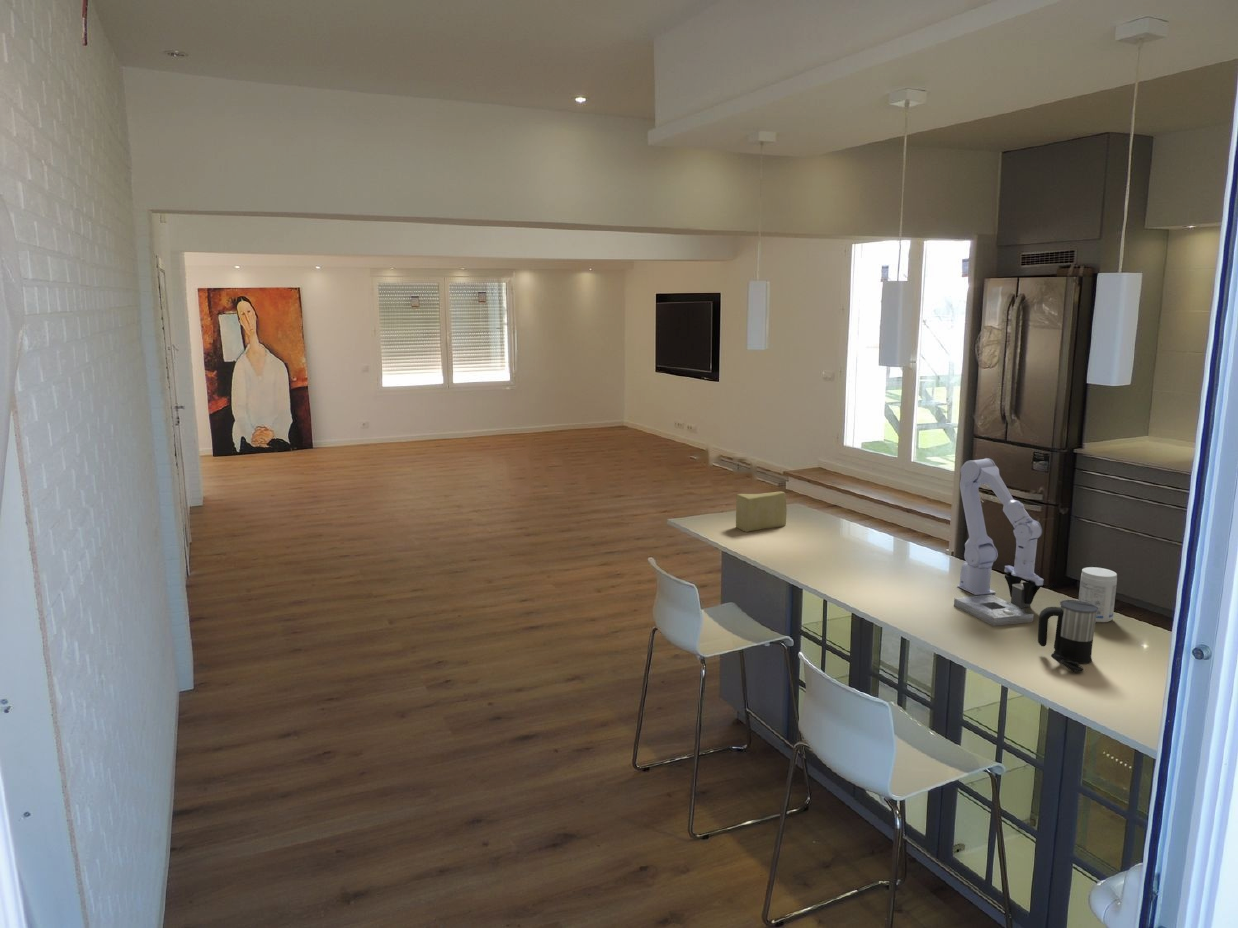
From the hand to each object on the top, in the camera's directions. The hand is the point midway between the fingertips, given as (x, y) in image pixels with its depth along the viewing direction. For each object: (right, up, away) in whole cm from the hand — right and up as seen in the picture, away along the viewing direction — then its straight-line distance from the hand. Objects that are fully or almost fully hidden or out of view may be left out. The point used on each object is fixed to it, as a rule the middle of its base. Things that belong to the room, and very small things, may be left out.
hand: (1020, 600), depth 266 cm
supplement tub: (+18, -4, -10) cm, 21 cm away
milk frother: (-7, -10, -43) cm, 44 cm away
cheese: (-66, +16, +92) cm, 114 cm away
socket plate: (-12, -3, -7) cm, 15 cm away
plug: (0, -2, 0) cm, 2 cm away
